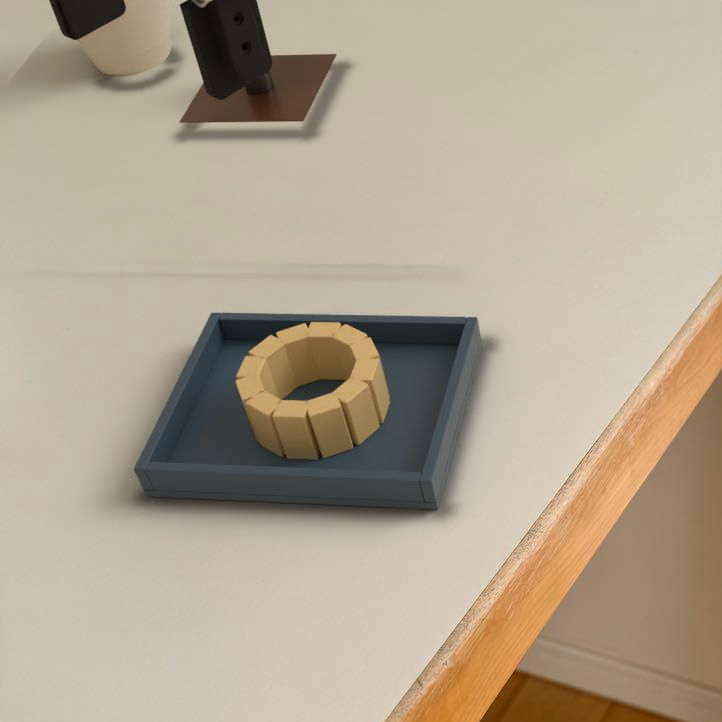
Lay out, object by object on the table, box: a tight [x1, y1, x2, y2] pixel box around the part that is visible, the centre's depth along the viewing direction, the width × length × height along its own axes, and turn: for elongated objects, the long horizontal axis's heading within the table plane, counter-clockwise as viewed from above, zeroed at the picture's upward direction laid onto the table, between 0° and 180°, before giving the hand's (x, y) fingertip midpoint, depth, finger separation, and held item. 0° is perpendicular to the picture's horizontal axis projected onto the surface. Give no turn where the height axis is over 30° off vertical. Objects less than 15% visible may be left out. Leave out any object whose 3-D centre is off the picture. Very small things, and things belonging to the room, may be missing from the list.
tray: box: [133, 312, 483, 510], centre depth 65 cm, size 15×12×2 cm
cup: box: [77, 0, 172, 76], centre depth 90 cm, size 8×8×10 cm
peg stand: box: [179, 53, 338, 124], centre depth 86 cm, size 9×9×6 cm
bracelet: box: [235, 322, 390, 460], centre depth 64 cm, size 7×7×3 cm
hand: (166, 53), depth 54 cm, fingers open, 9 cm apart
